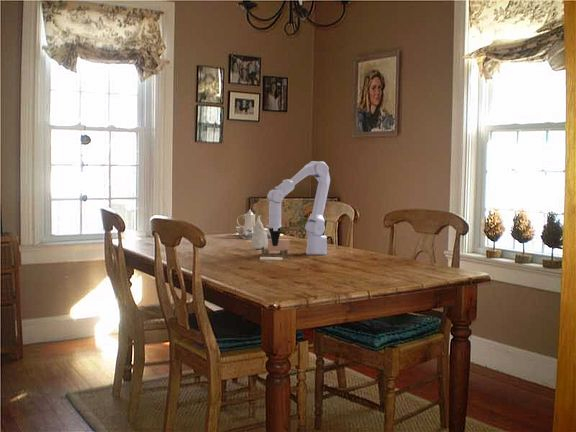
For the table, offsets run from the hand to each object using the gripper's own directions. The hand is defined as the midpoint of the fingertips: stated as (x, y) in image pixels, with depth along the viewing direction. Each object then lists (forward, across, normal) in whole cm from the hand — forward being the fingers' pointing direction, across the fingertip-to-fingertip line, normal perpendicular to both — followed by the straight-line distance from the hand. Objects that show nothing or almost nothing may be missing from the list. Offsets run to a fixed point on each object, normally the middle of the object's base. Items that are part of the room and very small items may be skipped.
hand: (274, 244), depth 322 cm
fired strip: (+6, +10, -2) cm, 12 cm away
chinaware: (+6, -66, -9) cm, 67 cm away
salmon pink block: (+3, 0, +2) cm, 3 cm away
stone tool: (+5, -20, -6) cm, 22 cm away
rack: (+5, 0, 0) cm, 5 cm away
